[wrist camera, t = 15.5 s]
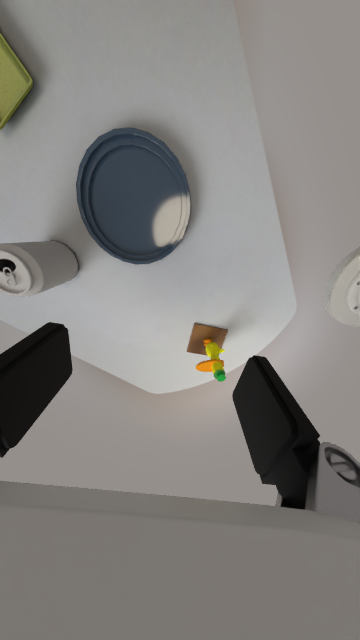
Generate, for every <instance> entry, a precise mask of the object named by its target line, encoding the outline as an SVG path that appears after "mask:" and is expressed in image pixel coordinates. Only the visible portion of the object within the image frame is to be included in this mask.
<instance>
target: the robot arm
mask: <svg viewBox="0 0 360 640" xmlns="http://www.w3.org/2000/svg"><path fill="white" fill-rule="evenodd" d="M346 304H347V306H348V308H349V309H350V310H351V311H352V312H353V313H355V314H358V315H360V272H359V273H358V274H357V275H356V276H355V277H354V278H353V280H352V281H351V283H350V285H349V287H348V289H347V292H346ZM71 374H72V361H71V353H70V344H69V335H68V329H67V328H65V326H64V325H63V324H58V323H52V322H49V323H47V324H45V325H44V326H42V327H41V328H39V329H38V330H36V331H35V332H33V333H32V334H30V335H29V336H27V337H26V338H24V339H23V340H21V341H20V342H18V343H17V344H15V345H14V346H12V347H11V348H9V349H8V350H6V351H5V352H3V353H2V354H0V457H3V456H4V455H5V454H6V453H7V451H8V450H9V449H10V448H13V447H14V446H16V445H17V444H18V443H19V441H20V440H21V439H22V437H23V436H24V435H25V434H26V432H27V431H28V430H29V429H30V427H31V426H32V425H33V423H34V422H35V421H36V420H37V418H38V417H39V416H40V414H41V413H42V412H43V411H44V409H45V408H46V407H47V406H48V404H49V403H50V402H51V400H52V399H53V398H54V397H55V395H56V394H57V393H58V391H59V390H60V389H61V388H62V386H63V385H64V384H65V382H66V381H67V380H68V379H69V377H70V375H71ZM233 401H234V405H235V408H236V411H237V414H238V417H239V420H240V423H241V427H242V430H243V433H244V436H245V439H246V443H247V445H248V449H249V452H250V455H251V459H252V462H253V465H254V468H255V471H256V472H257V473H258V474H259V475H260V478H261V480H262V484H271V485H276V487H277V490H278V497H277V501H276V505H275V506H268V505H258V504H249V503H239V502H229V501H218V500H207V499H198V498H187V497H177V496H166V495H155V494H142V493H133V492H121V491H111V490H100V489H88V488H77V487H65V486H53V485H42V484H30V483H17V482H6V481H0V640H360V463H359V462H358V461H357V460H356V459H355V458H354V457H353V456H352V455H351V454H349V453H348V452H347V451H345V450H344V449H343V448H341V447H339V446H337V445H335V444H332V443H329V442H323V443H322V444H320V442H319V441H318V438H319V436H320V435H319V433H318V432H317V431H316V429H315V428H314V426H313V425H312V423H311V422H310V420H309V419H308V418H307V416H306V415H305V413H304V412H303V410H302V409H301V408H300V406H299V405H298V403H297V402H296V400H295V399H294V397H293V396H292V395H291V393H290V392H289V390H288V389H287V387H286V386H285V384H284V383H283V381H282V380H281V378H280V377H279V376H278V374H277V373H276V371H275V370H274V368H273V367H272V366H271V364H270V363H269V361H268V360H267V358H265V357H261V356H253V357H252V358H249V359H248V361H247V363H246V366H245V368H244V370H243V372H242V374H241V376H240V379H239V381H238V383H237V385H236V387H235V389H234V392H233Z"/></svg>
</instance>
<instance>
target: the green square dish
mask: <svg viewBox="0 0 360 640" xmlns="http://www.w3.org/2000/svg"><path fill="white" fill-rule="evenodd" d="M32 86H33V82H32V78H31V76H30V75H29V73H28V72H27V70H26V69H25V67H24V66H23V65H22V63H21V62H20V60H19V59H18V57H17V56H16V54H15V53H14V52H13V50H12V49H11V47H10V46H9V44H8V43H7V41H6V40H5V39H4V37H3V36H2V34H1V33H0V130H1V129H2V128H3V127H4V126H5V124H6V123H7V122H8V120H9V119H10V117H11V116H12V115H13V113H14V112H15V110H16V109H17V108H18V106H19V105H20V103H21V102H22V101H23V99H24V98H25V97H26V95H27V94H28V92H29V91H30V90H31V88H32Z"/></svg>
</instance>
